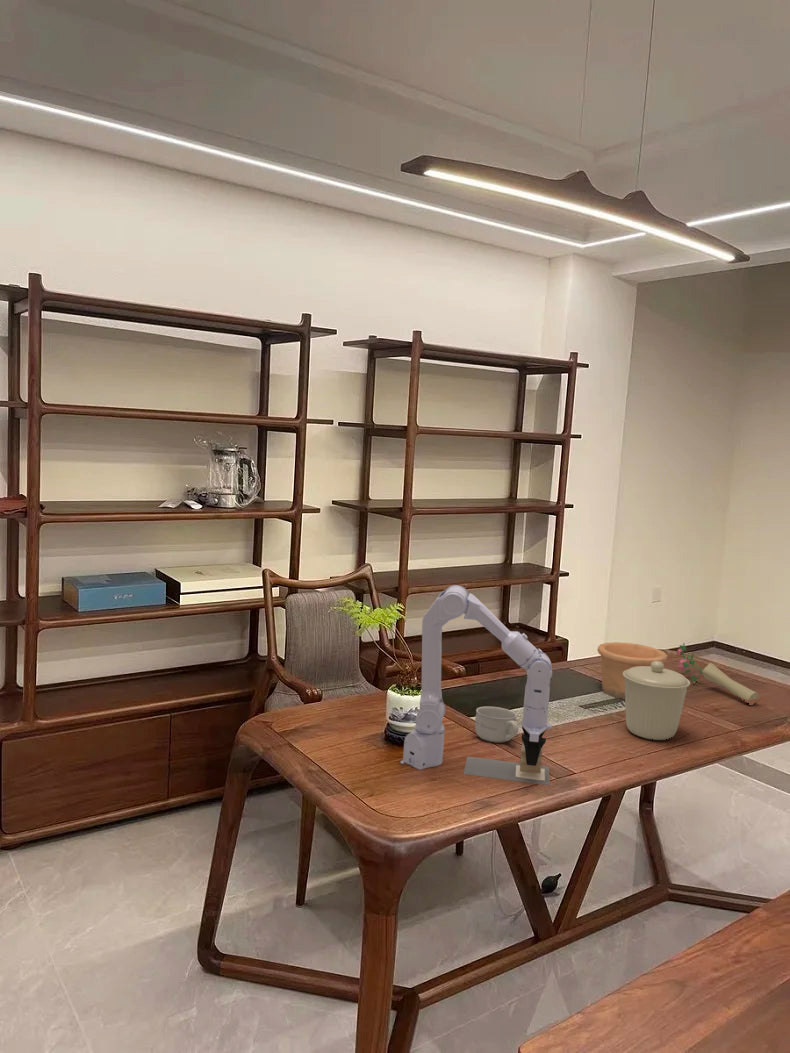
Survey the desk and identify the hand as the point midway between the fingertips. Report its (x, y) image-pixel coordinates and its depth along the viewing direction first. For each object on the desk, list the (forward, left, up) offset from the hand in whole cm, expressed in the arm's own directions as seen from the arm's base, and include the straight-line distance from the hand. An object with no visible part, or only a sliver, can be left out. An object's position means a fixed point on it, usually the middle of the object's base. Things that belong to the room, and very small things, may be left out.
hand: (531, 760), depth 192 cm
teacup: (+11, +19, -4) cm, 23 cm away
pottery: (+83, +24, -4) cm, 86 cm away
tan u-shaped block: (0, 0, -2) cm, 2 cm away
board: (-3, +4, -4) cm, 7 cm away
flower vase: (+112, +11, -4) cm, 113 cm away
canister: (+54, -1, -4) cm, 54 cm away
